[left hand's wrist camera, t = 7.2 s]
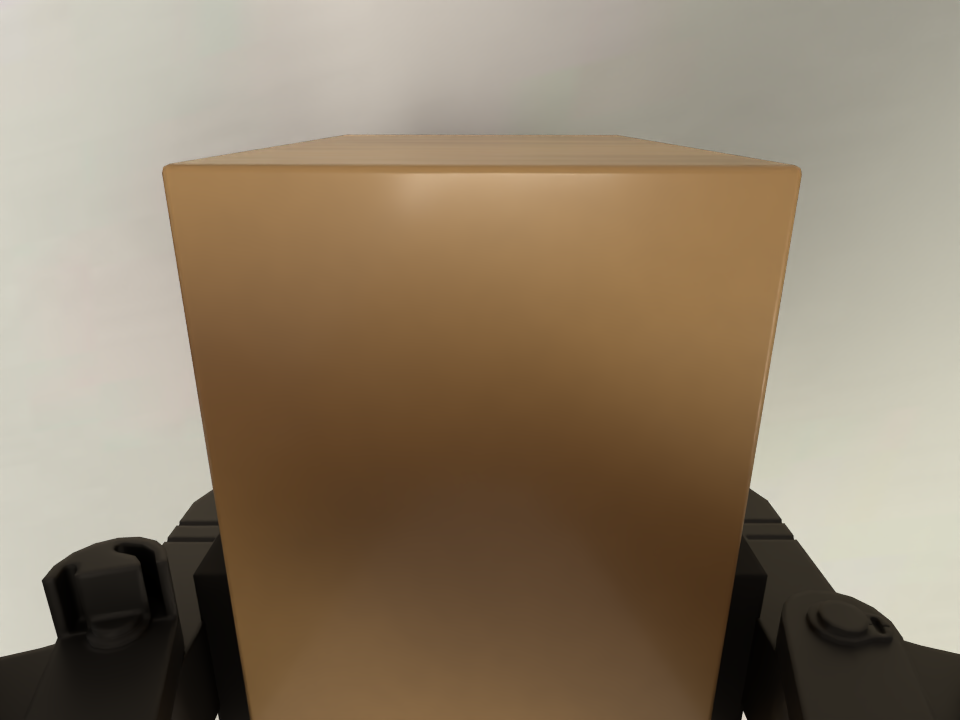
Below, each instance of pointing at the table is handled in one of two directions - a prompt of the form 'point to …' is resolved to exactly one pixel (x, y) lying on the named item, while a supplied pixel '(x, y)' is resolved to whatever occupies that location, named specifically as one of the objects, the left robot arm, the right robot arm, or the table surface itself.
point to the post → (481, 415)
